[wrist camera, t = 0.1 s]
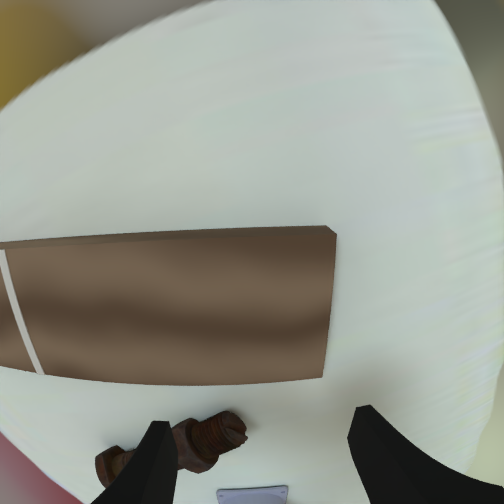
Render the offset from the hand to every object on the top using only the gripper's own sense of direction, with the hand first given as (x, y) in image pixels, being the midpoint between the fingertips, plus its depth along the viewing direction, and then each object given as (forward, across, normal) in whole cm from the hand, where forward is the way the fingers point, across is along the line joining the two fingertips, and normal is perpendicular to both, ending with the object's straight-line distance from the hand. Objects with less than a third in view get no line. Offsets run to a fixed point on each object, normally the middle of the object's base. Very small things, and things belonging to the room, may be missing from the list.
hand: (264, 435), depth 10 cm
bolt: (+11, +7, +13) cm, 19 cm away
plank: (+10, +10, -1) cm, 14 cm away
